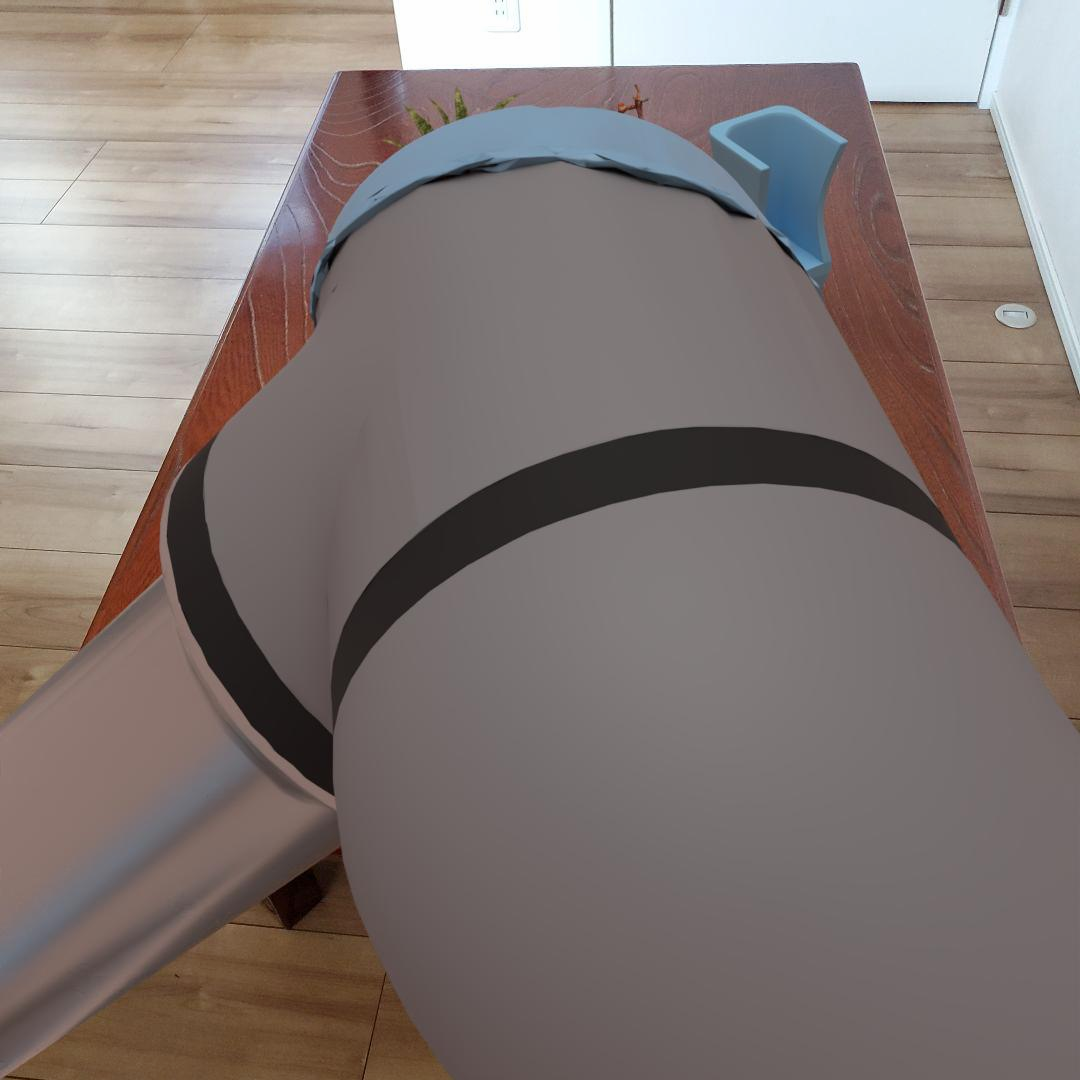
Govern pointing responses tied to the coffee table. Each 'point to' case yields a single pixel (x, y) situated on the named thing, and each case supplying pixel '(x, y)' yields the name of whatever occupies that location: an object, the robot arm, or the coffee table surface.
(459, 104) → the house plant
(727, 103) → the coffee table surface
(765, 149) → the blue high-backed chair
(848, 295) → the coffee table surface
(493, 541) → the robot arm
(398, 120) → the coffee table surface
